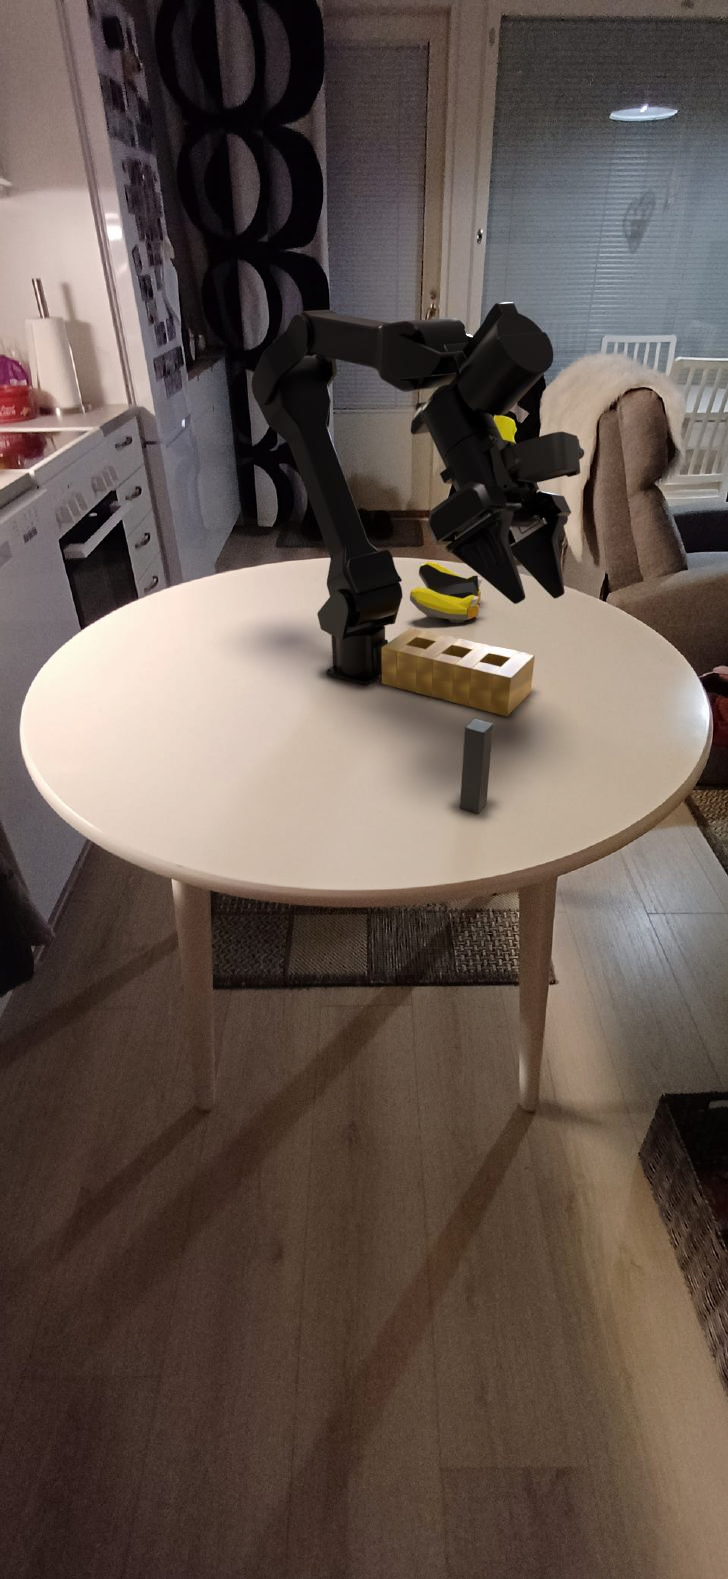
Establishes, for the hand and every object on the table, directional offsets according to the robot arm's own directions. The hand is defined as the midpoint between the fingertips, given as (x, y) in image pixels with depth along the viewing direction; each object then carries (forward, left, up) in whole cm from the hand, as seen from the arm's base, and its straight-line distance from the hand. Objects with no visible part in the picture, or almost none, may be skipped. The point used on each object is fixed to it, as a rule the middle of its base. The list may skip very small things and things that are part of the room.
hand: (541, 598), depth 72 cm
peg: (-1, -10, -18) cm, 21 cm away
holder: (-14, +12, -18) cm, 26 cm away
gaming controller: (-27, +35, -18) cm, 48 cm away
